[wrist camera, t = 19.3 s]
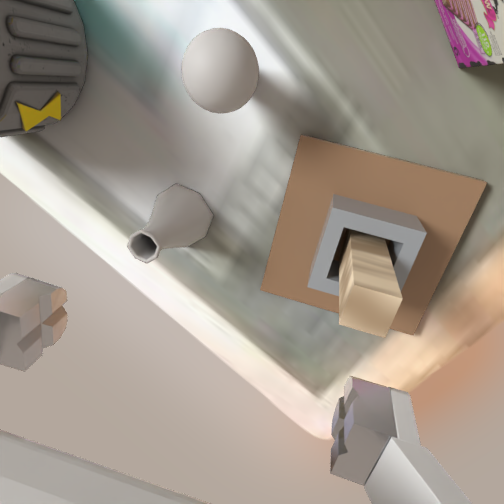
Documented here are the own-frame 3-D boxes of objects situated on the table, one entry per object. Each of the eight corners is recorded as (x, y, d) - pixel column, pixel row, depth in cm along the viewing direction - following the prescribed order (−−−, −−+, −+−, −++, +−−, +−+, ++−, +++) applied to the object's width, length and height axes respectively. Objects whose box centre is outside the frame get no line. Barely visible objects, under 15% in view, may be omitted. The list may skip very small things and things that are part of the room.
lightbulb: (225, 117, 40) (187, 126, 30) (204, 54, 38) (156, 42, 28) (281, 96, 38) (261, 99, 28) (262, 29, 36) (233, 7, 26)
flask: (224, 214, 44) (195, 246, 35) (189, 255, 47) (153, 295, 38) (175, 171, 43) (132, 193, 34) (142, 216, 46) (94, 247, 37)
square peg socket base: (301, 134, 39) (295, 141, 34) (483, 180, 37) (508, 196, 32) (261, 286, 47) (251, 312, 41) (411, 330, 45) (421, 363, 39)
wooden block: (349, 223, 40) (353, 284, 28) (382, 232, 40) (402, 298, 27) (339, 253, 42) (339, 324, 29) (371, 261, 42) (385, 337, 29)
